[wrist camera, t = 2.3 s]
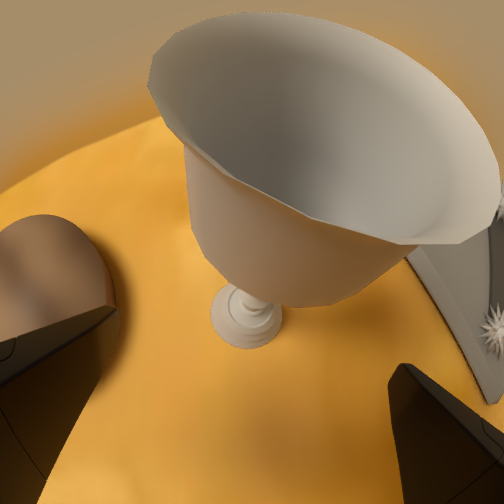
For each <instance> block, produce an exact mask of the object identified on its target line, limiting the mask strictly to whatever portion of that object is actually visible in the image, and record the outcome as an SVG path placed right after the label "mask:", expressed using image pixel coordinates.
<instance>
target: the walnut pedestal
mask: <svg viewBox="0 0 504 504" xmlns="http://www.w3.org/2000/svg"><path fill="white" fill-rule="evenodd" d="M103 305H111V306H114V307H116V298H115V290H114V285H113V281H112V277H111V275H110V272H109V269H108V267H107V265H106V263H105V261H104V259H103V258H102V256H101V255H100V253H99V252H98V251H97V249H96V248H95V247H94V245H93V244H92V243H91V241H90V240H89V238H88V237H87V236H86V235H85V234H84V233H83V231H82V230H81V229H80V228H78V227H77V226H76V225H75V224H73V223H72V222H70V221H68V220H66V219H64V218H61V217H58V216H54V215H34V216H29V217H26V218H22V219H20V220H18V221H16V222H14V223H12V224H11V225H9V226H7V227H6V228H5V229H3V230H2V231H1V232H0V342H2V341H5V340H8V339H10V338H13V337H16V338H17V336H19V335H22V334H25V333H27V332H30V331H33V330H36V329H39V328H42V327H44V326H47V325H50V324H53V323H56V322H58V321H61V320H64V319H67V318H70V317H73V316H75V315H78V314H81V313H84V312H87V311H89V310H92V309H95V308H98V307H101V306H103Z"/></svg>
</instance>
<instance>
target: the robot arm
mask: <svg viewBox="0 0 504 504" xmlns="http://www.w3.org/2000/svg"><path fill="white" fill-rule="evenodd" d="M119 334H120V311H119V309H118V308H117V307H114V306H111V305H103V306H101V307H98V308H95V309H92V310H89V311H87V312H84V313H81V314H78V315H75V316H73V317H70V318H67V319H64V320H61V321H58V322H56V323H53V324H50V325H47V326H44V327H42V328H39V329H36V330H33V331H30V332H27V333H25V334H22V335H19V336H17V338H16V337H13V338H10V339H8V340H5V341H2V342H0V504H37V502H38V500H39V497H40V495H41V493H42V491H43V488H44V486H45V484H46V482H47V481H46V480H47V479H48V477H49V475H50V473H51V471H52V469H53V467H54V465H55V463H56V461H57V458H58V456H59V454H60V452H61V450H62V448H63V446H64V444H65V442H66V441H67V439H68V437H69V435H70V433H71V431H72V429H73V427H74V425H75V423H76V421H77V419H78V418H79V416H80V414H81V412H82V410H83V408H84V407H85V405H86V403H87V401H88V399H89V397H90V396H91V394H92V392H93V390H94V389H95V387H96V385H97V383H98V381H99V380H100V378H101V376H102V374H103V372H104V369H105V367H106V365H107V362H108V360H109V358H110V355H111V353H112V351H113V348H114V346H115V344H116V342H117V339H118V337H119ZM388 395H389V404H390V414H391V423H392V430H393V435H394V440H395V446H396V451H397V457H398V463H399V470H400V476H401V483H402V491H403V499H404V504H504V433H502V432H501V431H500V430H498V429H497V428H495V427H494V426H493V425H491V424H490V423H489V422H487V421H486V420H485V419H483V418H482V417H480V416H479V415H478V414H477V413H475V412H474V411H473V410H472V409H470V408H469V407H468V406H466V405H465V404H464V403H462V402H461V401H460V400H458V399H457V398H456V397H454V396H453V395H452V394H451V393H449V392H448V391H447V390H445V389H444V388H443V387H441V386H440V385H439V384H437V383H436V382H435V381H433V380H432V379H431V378H429V377H428V376H427V375H425V374H424V373H423V372H422V371H420V370H419V369H418V368H416V367H415V366H414V365H412V364H409V363H401V364H399V365H398V367H397V368H396V370H395V372H394V373H393V375H392V377H391V378H390V380H389V382H388Z"/></svg>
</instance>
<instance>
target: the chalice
mask: <svg viewBox="0 0 504 504" xmlns="http://www.w3.org/2000/svg"><path fill="white" fill-rule="evenodd" d="M147 87H148V89H149V91H150V93H151V95H152V97H153V99H154V101H155V103H156V105H157V107H158V109H159V111H160V113H161V115H162V117H163V119H164V121H165V123H166V125H167V127H168V128H169V129H170V130H171V131H172V132H173V133H174V134H175V135H176V136H177V138H178V139H179V140H180V141H181V142H182V143H183V144H184V155H185V167H186V179H187V190H188V200H189V210H190V219H191V228H192V231H193V233H194V235H195V237H196V240H197V242H198V244H199V246H200V248H201V250H202V252H203V254H204V256H205V258H206V259H207V260H208V261H209V262H210V263H211V264H212V265H213V266H214V267H215V268H216V269H217V270H218V271H219V272H220V273H221V274H222V275H223V276H224V277H225V278H226V280H227V281H228V282H230V283H229V284H227V285H225V286H224V287H223V288H222V289H221V290H219V291H218V293H217V295H216V296H215V298H214V299H213V302H212V306H211V322H212V324H213V326H214V328H215V331H216V332H217V334H218V335H219V336H220V337H221V338H222V339H223V340H224V341H225V342H227V343H229V344H231V345H232V346H234V347H239V348H243V349H250V348H258V347H260V346H262V345H265V344H267V343H268V342H269V341H271V340H272V339H273V338H274V337H275V336H276V334H277V333H278V331H279V329H280V327H281V323H282V317H283V313H282V307H281V305H284V306H289V307H294V308H304V307H317V306H329V305H332V304H334V303H336V302H339V301H341V300H343V299H345V298H347V297H350V296H352V295H354V294H356V293H358V292H359V291H361V290H362V289H363V288H365V287H366V286H367V285H369V284H370V283H372V282H373V281H374V280H376V279H377V278H378V277H380V276H381V275H382V274H384V273H385V272H386V271H388V270H389V269H390V268H392V267H393V266H394V265H396V264H397V263H398V262H399V261H401V260H402V259H403V258H405V257H406V256H407V255H408V254H410V253H411V252H412V251H413V250H415V249H416V248H417V247H418V246H420V245H438V244H460V243H462V242H463V241H465V240H467V239H469V238H470V237H472V236H474V235H475V234H477V233H479V232H480V231H482V230H484V229H485V228H487V227H489V226H490V225H491V223H492V220H493V218H494V216H495V213H496V210H497V208H498V205H499V203H500V200H501V197H502V195H501V185H500V176H499V168H498V163H497V161H496V158H495V156H494V153H493V151H492V149H491V147H490V144H489V142H488V140H487V138H486V136H485V134H484V132H483V130H482V128H481V127H480V126H479V124H478V123H477V121H476V120H475V119H474V117H473V116H472V114H471V113H470V112H469V111H468V109H467V108H466V107H465V105H464V104H463V103H462V102H461V100H460V99H459V98H458V97H457V96H456V95H455V94H454V93H453V92H451V90H450V89H449V88H448V87H447V86H445V85H444V84H443V83H442V82H441V81H440V80H439V79H438V78H437V77H436V76H435V75H433V74H432V73H431V72H430V71H428V70H427V69H426V68H424V67H423V66H421V65H420V64H419V63H417V62H416V61H414V60H413V59H411V58H410V57H408V56H407V55H405V54H404V53H402V52H401V51H399V50H398V49H396V48H393V47H392V46H390V45H388V44H386V43H384V42H382V41H380V40H378V39H376V38H374V37H371V36H370V35H367V34H365V33H363V32H361V31H358V30H355V29H352V28H349V27H346V26H343V25H340V24H337V23H334V22H330V21H327V20H323V19H319V18H313V17H308V16H302V15H296V14H289V13H280V12H279V13H278V12H277V13H276V12H243V13H237V14H230V15H225V16H220V17H215V18H210V19H206V20H203V21H201V22H199V23H197V24H194V25H192V26H190V27H188V28H185V29H184V30H181V31H180V32H177V33H175V34H174V35H173V36H172V37H171V38H170V39H169V40H168V41H167V42H166V43H165V44H164V45H163V46H162V47H161V48H160V49H159V50H158V51H157V52H156V53H155V54H154V55H153V59H152V64H151V69H150V75H149V81H148V85H147Z"/></svg>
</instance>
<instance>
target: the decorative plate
mask: <svg viewBox="0 0 504 504" xmlns="http://www.w3.org/2000/svg"><path fill="white" fill-rule="evenodd" d="M501 195H502V197H501V200H500V203H499V205H498V208H497V210H496V213H495V216H494V218H493V220H492V223H491V225H490V226H489V227H487V228H485V229H484V230H482V231H480V232H479V233H477V234H475V235H474V236H472V237H470V238H469V239H467V240H465V241H463V242H462V243H460V244H438V245H420V246H418V247H417V248H416V249H415V250H413V251H412V252H411V253H410V254H408V255H407V256H406V258H407V259H408V261H409V262H410V264H411V265H412V267H413V268H414V270H415V271H416V273H417V274H418V276H419V277H420V279H421V280H422V282H423V284H424V285H425V287H426V288H427V290H428V292H429V293H430V295H431V296H432V298H433V300H434V301H435V303H436V305H437V306H438V308H439V310H440V311H441V313H442V315H443V316H444V318H445V320H446V322H447V323H448V325H449V327H450V329H451V331H452V332H453V334H454V336H455V338H456V340H457V341H458V343H459V345H460V347H461V349H462V351H463V353H464V355H465V357H466V359H467V361H468V363H469V365H470V367H471V369H472V371H473V373H474V375H475V377H476V379H477V381H478V383H479V386H480V388H481V390H482V392H483V394H484V397H485V399H486V401H487V404H497V403H498V402H499V400H500V398H501V397H502V395H503V393H504V184H503V181H502V188H501Z"/></svg>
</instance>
